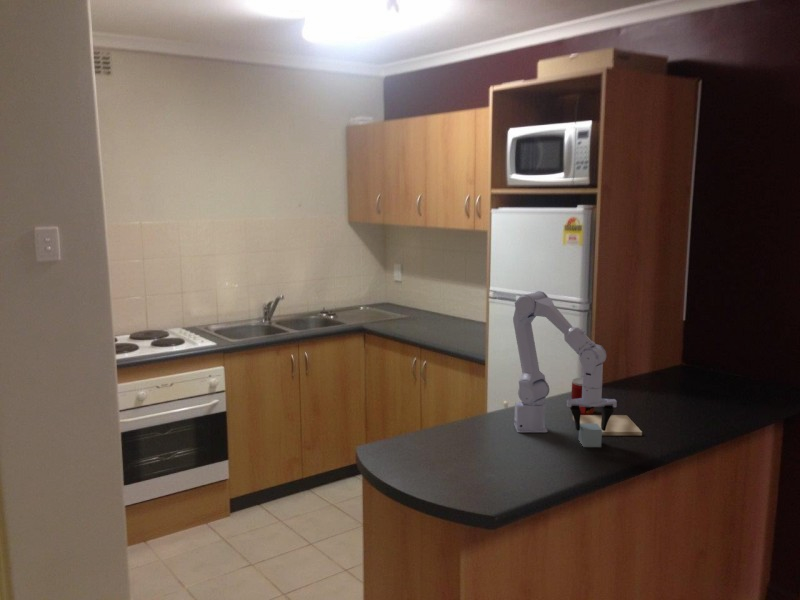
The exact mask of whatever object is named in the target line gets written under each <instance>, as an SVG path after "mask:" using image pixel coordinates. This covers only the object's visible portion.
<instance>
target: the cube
mask: <svg viewBox="0 0 800 600" xmlns="http://www.w3.org/2000/svg"><path fill="white" fill-rule="evenodd" d="M602 436H603V435H602V429H601V428H600V427H599V425H598V424H580V431H578V440H579V441H580V442H579V441H578V442H579V444H580V443H581V444H582V445H581V444H580V445H581V447H582V446H583V447H582V448H602V438H603V437H602Z"/></svg>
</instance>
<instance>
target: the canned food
mask: <svg viewBox="0 0 800 600" xmlns="http://www.w3.org/2000/svg"><path fill="white" fill-rule="evenodd" d="M571 380H572V381H571V394H570V395H571V398H570V399H578V398H582V381H583V377H576V378H573V379H571ZM579 408H580V411H581V415H594V412H595V410H596V409H595V408H596V407H579Z"/></svg>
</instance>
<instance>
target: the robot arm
mask: <svg viewBox="0 0 800 600" xmlns="http://www.w3.org/2000/svg"><path fill="white" fill-rule="evenodd" d="M514 308H515V309H514V313H513V317H512V320H513V321H512V322H513V327H514V333H515V339H516V345H517V349H518V351H517V352H518V355H519V361H520V367H521V373H522V374H521V376H520V378H519V380H518V392H517V395H518V398H519V400H520V401H517V402H515V403H514V423H513V425H514V427H515V429H516V433H548V429H547V428H546V426H545V419H546V417H545V414H546V399H547V398H546V397H548V396H549V394H550V386H549V383H548V382H547V380H546V378H545V377H546V375H545V374H544V373H543V372H542V371H541V370H540V366H539V360H538V354H537V347H536V344H535V337H534V333H533V332H534V331H533V326H532V323H533V321H534V319H535V318H536V317H544V318H546V320H548V322H549V321H550V323H551V324H552V325H553V326H554V327H555V328H557V329H558V330H559V332H561V333H562V334H563V335H564V341H565V342H566V344H567V345H568V346H570V348H571V349H572V350H573V351H574V353H576V354H577V355H578V356H579V362H580V363H581V365H582V378H583V381H582V398H578V399H571V398H570V399H566V407H567V408H570V411H571V413H572V418H573V417H574V420H575V421H574V420H573V421H574V424H575V430H576V431H577V432H579V431H580V415H581V411H580V408H579V407H595V408H596V407H597V408H598V407H600V408H601V415H602V421H601V429H602V430H603V431H605V429H606V426H607V423H608V420H609V418H610V416H611V415H613V413H614V411H615V408H617V405H618V404H617V402H618V401H617V400H616V399H615V398H602V397H603V396H602V395H603V394H602V393H603V372H604V371H603V370H604V369H603V368H604V367H603V366H604V364H603V363H604V362H605V361H606V359H607V352H606V350H605V348H604V347H603V346H602V345H600V344H596V342H595V341H593V340H591V338H589V337H588V336H587V334H585V330H584V329H583V328H580V327H577V326H576V327H574V326H572V324H571V323H570V322H569V321H568V320H567V319H566V317H565V316H564V315H563V313H561V311H560V310H559V309H558V308H557V307H556V305H555V304H554V302H553V299H551V297H549V296H548V295H547V294H546V293H545V292H544V291H540V290H537V291H535V292H533V293H532V292H531V293H527V294H521V295H520V296H519V297H518V298H517V299H516V300H515V302H514Z"/></svg>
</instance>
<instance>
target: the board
mask: <svg viewBox="0 0 800 600" xmlns="http://www.w3.org/2000/svg"><path fill="white" fill-rule="evenodd" d="M572 420H573V421H574V422H575V420H574V417H573V416H572ZM601 421H602V414H591V415H580V424H598V425H599V427H600V428H601ZM602 436H639V437H640V436H643V431H642V430H641V429H640V428H639V427H638V426H637V425H636V423H634V421H633V420H631V418H630V417H629V416H628V415H626V414H625V415H624V414H612V415H611V416H610V418H609V420H608V423H607V426H606V429H605V431H603V430H602Z"/></svg>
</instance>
